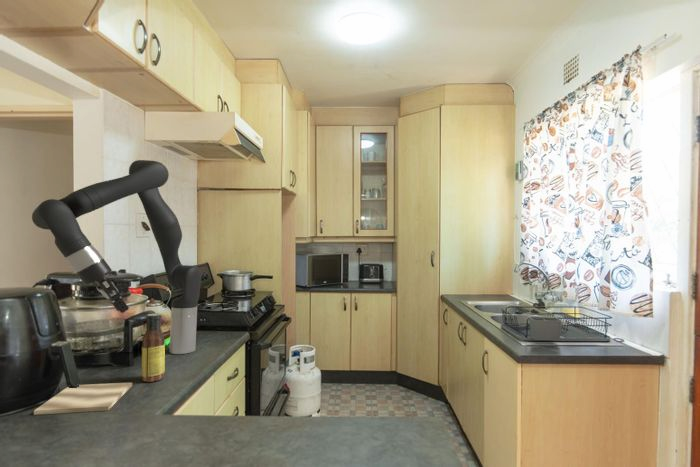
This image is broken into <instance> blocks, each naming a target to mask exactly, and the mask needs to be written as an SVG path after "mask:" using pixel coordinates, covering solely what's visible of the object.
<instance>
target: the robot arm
mask: <svg viewBox="0 0 700 467" xmlns="http://www.w3.org/2000/svg"><path fill="white" fill-rule="evenodd" d="M168 180H169V170H168V168H167V167H166V165H164V164H163V163H162V162H159V161H158V160H157V161H156V160H148V159H147V160H146V159H144V160H143V159H139V160H138V159H136V160H134V161H132V162H131V164H130V166H129V168H128V174H127V175H125V176H121V177H118V178H113V179H109V180H103V181H101V182H95V183H93V184H90V185H87V186H85V187H84V186H83V187H82V188H80V189H77V190H74V191H73V192H71V193H69V194H68V195H66V196H64V197H62V198H60V199H54V198H50V199H46V200H43V201H42V202H41V203H40V204H39V205H38V206H36V208H35V209H34V210H33V212H32V215H31V219H32V220H31V221H32V222H33V224H34V225H35V226H36V227H38V228H40V229H43V230H49V231H50V232H51V233H52V235H53V237H54V245H55V246H56V247H57V249H58V250H59V252H60V253H61V254H62V255H63V257H64V258H65V259H66V261H67V263H68V265H69V266H70V267H71V269H72V270H73V271H74V273H75V274H76V275H77V277H78V278H79V279H80V280H81V282H82V283H83V285H85V286H88V285H90V284H92V283H94V282H95V286H96V289H97V291H98V292H99V293H101V295H102V296H103V297H104V298H105V299H106V300H107V301H109V302H110V303H111V305H112V306H113V307H114V308H115V310H116V311H117V312H120V313H123V314H124V313H125V312H126V311H128V310H130V309H129V306H128V305H127V303H126V301H124V300H123V298H122V294H121V293H120V292H119V290H118V288H117V287H116V285H115V283H114V282H113V280H112V279H109V278H107V277H106V275H108V274H110V273H112V268H111V266H109V264H108V263H107V261H106V260H105V259H104V258H103V256H102V255H101V253H100V252H99V250H97V249H96V248H95V247H94V245H92V243H91V242H90V240H89V239H88V237H87V236H86V235H85V234H84V233H83V231H82V229H81V226H80V225H79V222H78V220H77V218H78V219H79V217H81V216H84V215H86V214H89V213H91V212H94V211H96V210H99V209H101V208H103V207H106V206H107V205H109V204H112V203H114V202H116V201H119V200H122V199H124V198H127V197H129V196H132V195H135V194H137V196H138V198H139V199H140V202H141V204H142V207H143V210H144V212H145V214H146V217H147V220H148V222H149V226H150V228H151V231H152V234H153V237H154V240H155V241H156V243H157V247H158V250H159V252H160V256H161V259H162V262H163V267H164V270H165V274H166V279H167V281H168V284H169V285H170V286H171V288H174V289H176V290H177V289H178V290H179V289H180V290H182V294H181V295H180V296H179V297H178V296H177V297H176V298H173V299H172V300H171V310H170V311H171V312H170V330H169V332H170V334H169V353H170V354H173V355H184V354H185V355H186V354H189V353H194V352H195V351H196V346H197V344H196V340H197V325H198V324H197V322H198V321H197V320H198V318H197V317H198V303H199V299H200V295H201V293H200V292H201V283H202V272H201V269H200V268H199V266H196V265H183V264H182V263H181V262H182V261H181V259H180V257H179V256H180V255H179V248H180V245H181V244H182V243H181V242H182V239H183V232H182V228H181V226H180V222H179V220H178V219H179V218H177V215H176V214H175V213H174V211H173V210H172V209H171V207H170V206H169V205H168V204H167V202H165V200H164V199H163V197H162V195H161V193H160V191H159V188H161V187H163V186H164V185H165V184H167V181H168Z"/></svg>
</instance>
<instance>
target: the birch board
mask: <svg viewBox="0 0 700 467" xmlns="http://www.w3.org/2000/svg"><path fill="white" fill-rule="evenodd" d="M78 385H79V387H77V388H69V387H68V386H67V387H66V388H64V389H63V390H61V391H60V392H58V393H57V394H55V395H54V396H52V397H51V398H50V399H48V400H47V401H45V402H44V403H42V404H41V405H40V406H39V407H37V408H36V409H34V410H33V416H35V415H51V414H54V415H55V414H67V413H84V412H85V413H89V412H103V411H104V412H105V411H109V410H110V409H112V407H113V406H114V405H115V404H116V403H117V402H118V401H119V400H120V399H121V398H122V397H123V396H124V395H125V394H126V393H127V392H128V391H129V390H130V389H131V388H132V387H133V382H116V383H114V382H113V383H94V384H93V383H90V384H88V383H87V384H78Z"/></svg>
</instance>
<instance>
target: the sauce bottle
mask: <svg viewBox="0 0 700 467" xmlns="http://www.w3.org/2000/svg"><path fill="white" fill-rule="evenodd" d="M161 319H162V314H161V313H159V312H158V313H155V312H154V313H148V314H146V331H145V333H144V335H143V337H142V346H141V376H142V378H141V379H142V382H146V383H152V382H153V383H154V382H157V381H160V380H162V379H164V376H165V371H166V369H165V368H166V366H165V364H166V363H165V360H166V359H165V358H166V357H165V356H166V353H165V350H166V348H165V347H166V340H165V338H164V334H163V331H162V330H163V329H162V326H161Z"/></svg>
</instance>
